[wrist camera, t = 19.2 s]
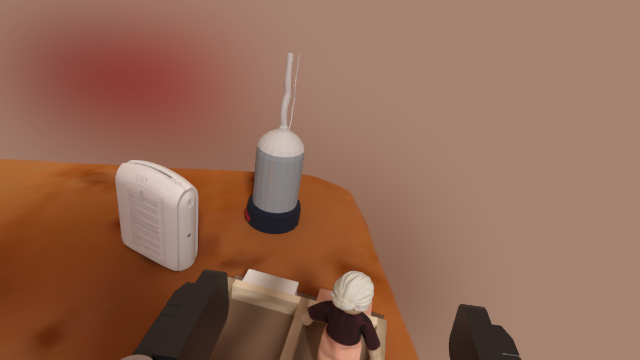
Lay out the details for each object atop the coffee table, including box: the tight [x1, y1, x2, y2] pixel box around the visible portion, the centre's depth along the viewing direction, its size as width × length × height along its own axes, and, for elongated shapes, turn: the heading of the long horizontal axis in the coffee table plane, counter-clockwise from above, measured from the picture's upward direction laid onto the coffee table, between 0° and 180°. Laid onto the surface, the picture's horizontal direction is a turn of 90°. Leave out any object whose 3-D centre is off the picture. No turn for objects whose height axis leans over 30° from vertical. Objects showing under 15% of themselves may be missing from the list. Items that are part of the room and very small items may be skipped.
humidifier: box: [245, 53, 304, 234], centre depth 53 cm, size 8×8×25 cm
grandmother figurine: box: [301, 271, 382, 360], centre depth 33 cm, size 8×4×13 cm, turn 73°
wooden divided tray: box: [209, 269, 387, 360], centre depth 37 cm, size 18×16×4 cm
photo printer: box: [115, 160, 198, 271], centre depth 46 cm, size 10×4×12 cm, turn 64°
